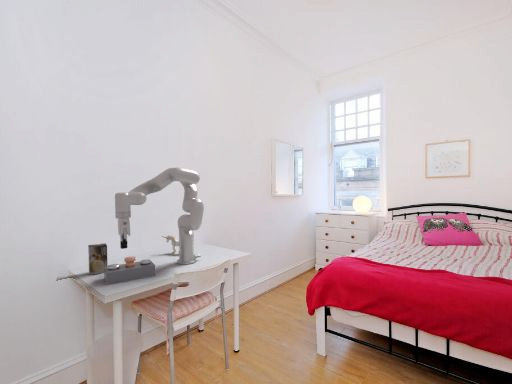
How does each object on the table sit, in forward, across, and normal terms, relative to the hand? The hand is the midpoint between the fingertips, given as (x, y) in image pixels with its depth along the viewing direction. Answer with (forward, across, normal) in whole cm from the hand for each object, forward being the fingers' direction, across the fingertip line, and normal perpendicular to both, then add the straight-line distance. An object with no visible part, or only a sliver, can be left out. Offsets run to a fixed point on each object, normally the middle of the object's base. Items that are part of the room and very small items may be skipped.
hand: (124, 248), depth 143 cm
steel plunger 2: (+15, 0, -11) cm, 18 cm away
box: (+16, 0, -3) cm, 17 cm away
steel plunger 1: (+15, 0, +5) cm, 16 cm away
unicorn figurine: (+18, +33, -38) cm, 53 cm away
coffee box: (+16, +18, +12) cm, 27 cm away
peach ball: (+12, 0, -3) cm, 12 cm away
